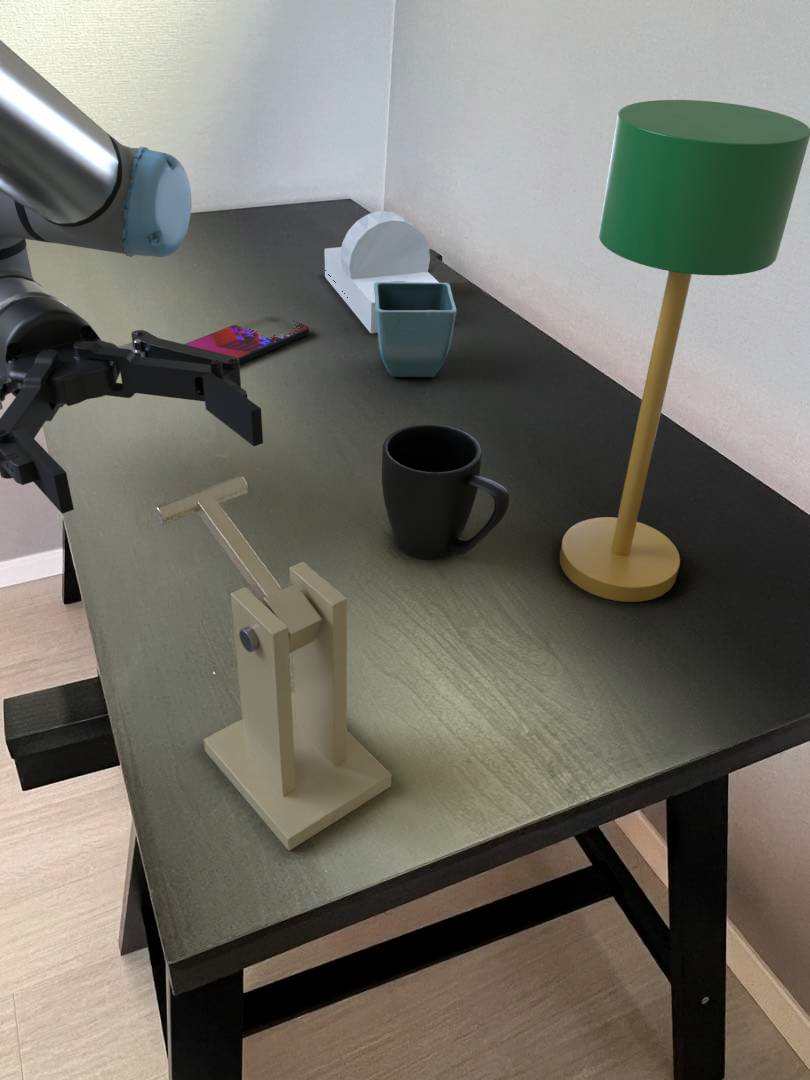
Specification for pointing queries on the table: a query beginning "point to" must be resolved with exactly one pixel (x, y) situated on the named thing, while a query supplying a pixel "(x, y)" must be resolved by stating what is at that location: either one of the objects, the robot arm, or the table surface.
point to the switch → (246, 558)
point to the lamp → (680, 279)
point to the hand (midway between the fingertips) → (166, 458)
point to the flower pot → (414, 326)
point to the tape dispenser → (376, 261)
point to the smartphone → (244, 342)
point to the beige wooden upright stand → (295, 719)
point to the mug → (435, 489)
